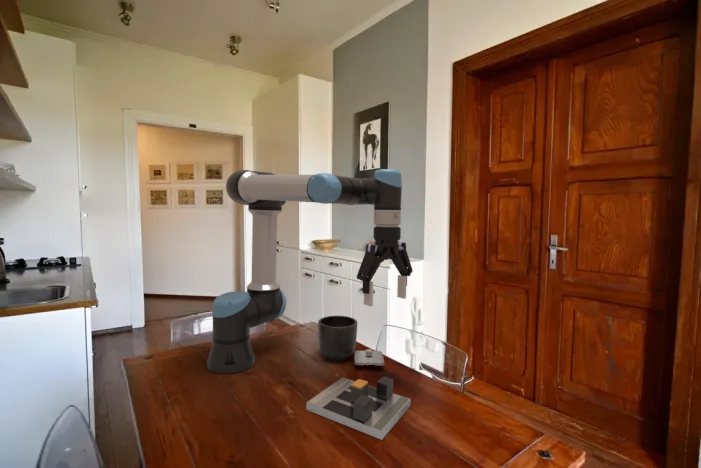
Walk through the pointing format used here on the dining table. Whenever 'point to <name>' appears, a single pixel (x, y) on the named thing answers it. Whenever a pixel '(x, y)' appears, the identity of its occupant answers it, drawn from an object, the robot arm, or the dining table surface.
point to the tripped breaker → (359, 389)
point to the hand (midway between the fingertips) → (385, 301)
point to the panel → (354, 423)
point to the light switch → (369, 357)
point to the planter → (337, 337)
